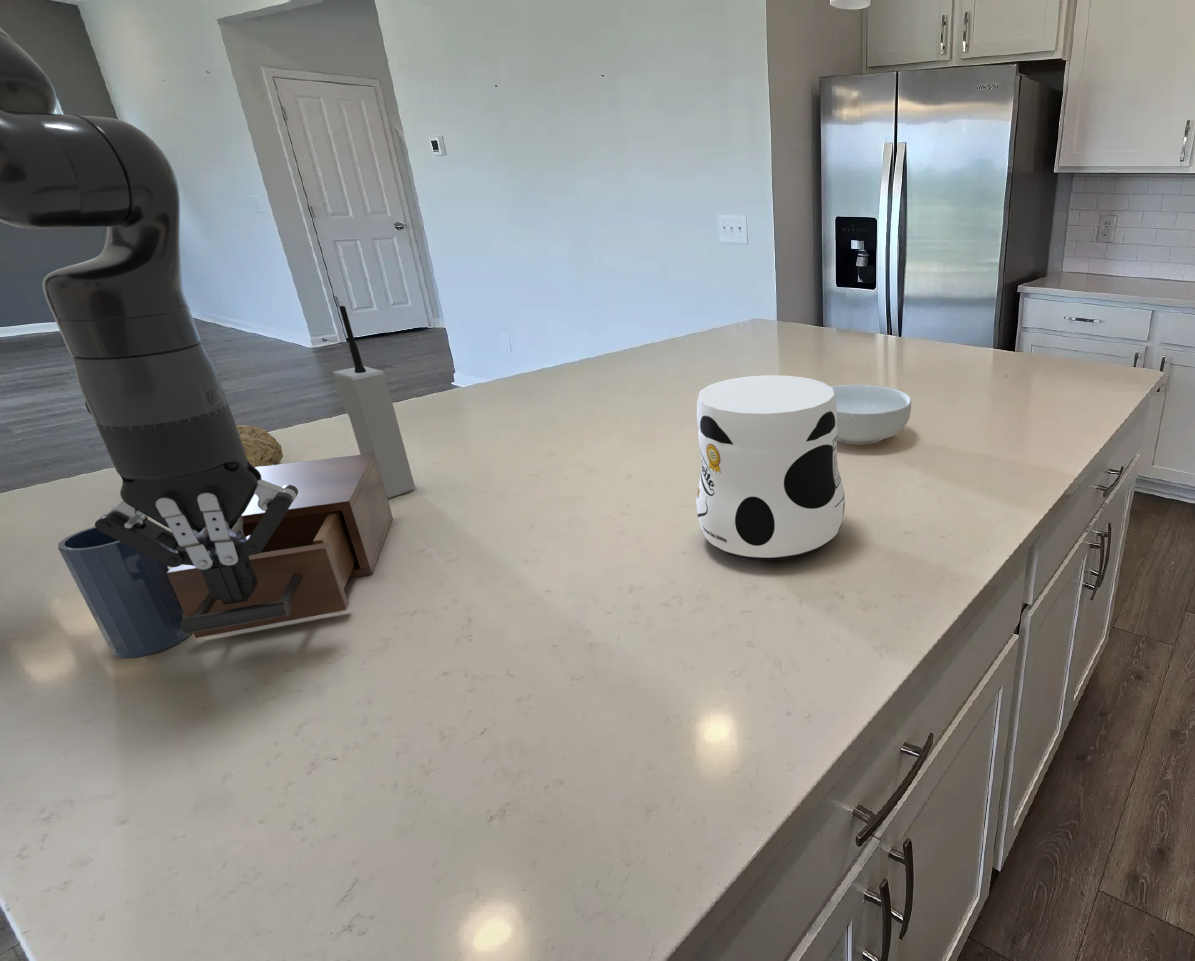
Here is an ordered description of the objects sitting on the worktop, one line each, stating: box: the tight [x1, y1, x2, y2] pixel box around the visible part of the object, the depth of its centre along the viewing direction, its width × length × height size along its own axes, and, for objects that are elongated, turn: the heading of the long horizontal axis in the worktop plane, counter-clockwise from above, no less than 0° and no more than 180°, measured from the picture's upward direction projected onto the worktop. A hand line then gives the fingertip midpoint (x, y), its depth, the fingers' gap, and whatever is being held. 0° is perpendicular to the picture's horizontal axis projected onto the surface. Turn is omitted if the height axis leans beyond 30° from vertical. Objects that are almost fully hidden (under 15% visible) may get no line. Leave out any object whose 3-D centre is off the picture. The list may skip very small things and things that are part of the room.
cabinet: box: [242, 453, 394, 579], centre depth 78 cm, size 15×13×9 cm
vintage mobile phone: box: [332, 305, 416, 499], centre depth 90 cm, size 4×5×25 cm
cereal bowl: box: [829, 383, 912, 446], centre depth 115 cm, size 17×17×7 cm
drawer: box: [167, 510, 357, 639], centre depth 67 cm, size 20×12×7 cm, turn 24°
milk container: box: [695, 374, 846, 562], centre depth 81 cm, size 17×17×18 cm
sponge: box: [235, 424, 284, 467], centre depth 97 cm, size 13×8×20 cm
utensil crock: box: [57, 526, 192, 659], centre depth 63 cm, size 6×6×11 cm
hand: (238, 598), depth 60 cm, fingers closed
